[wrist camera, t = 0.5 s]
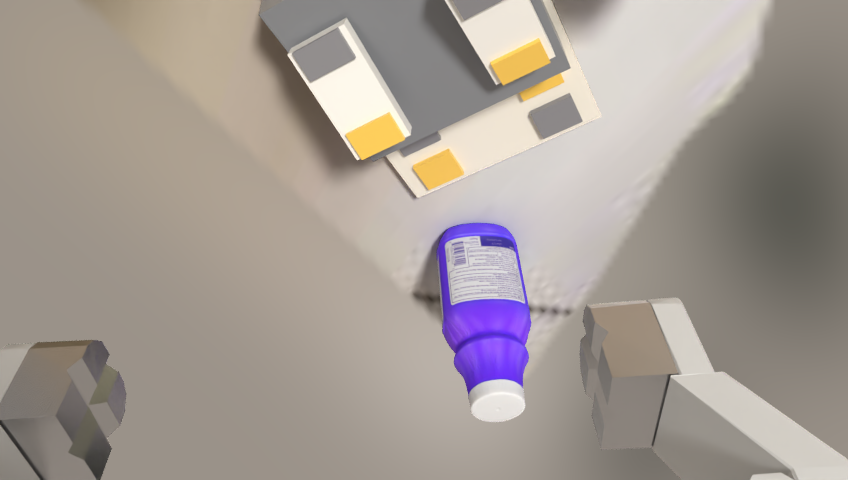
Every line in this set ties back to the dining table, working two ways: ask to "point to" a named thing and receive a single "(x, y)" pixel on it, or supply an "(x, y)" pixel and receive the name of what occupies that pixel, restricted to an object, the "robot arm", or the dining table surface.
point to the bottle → (485, 316)
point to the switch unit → (448, 84)
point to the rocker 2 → (504, 36)
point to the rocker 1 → (350, 90)
